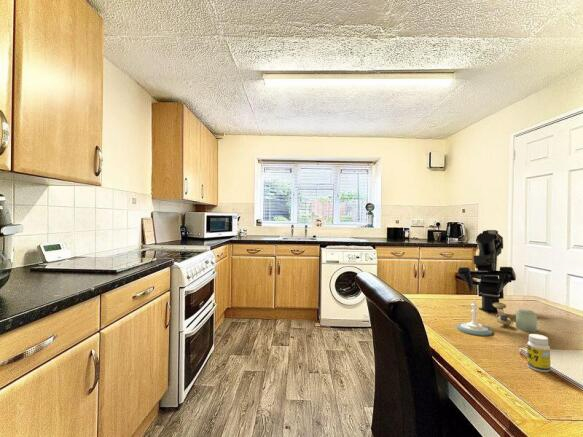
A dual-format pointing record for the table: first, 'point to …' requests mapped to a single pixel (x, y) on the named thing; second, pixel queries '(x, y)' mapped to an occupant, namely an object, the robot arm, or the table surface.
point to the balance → (501, 313)
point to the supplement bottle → (538, 353)
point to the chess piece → (474, 318)
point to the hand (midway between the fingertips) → (484, 292)
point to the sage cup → (526, 320)
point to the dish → (474, 330)
